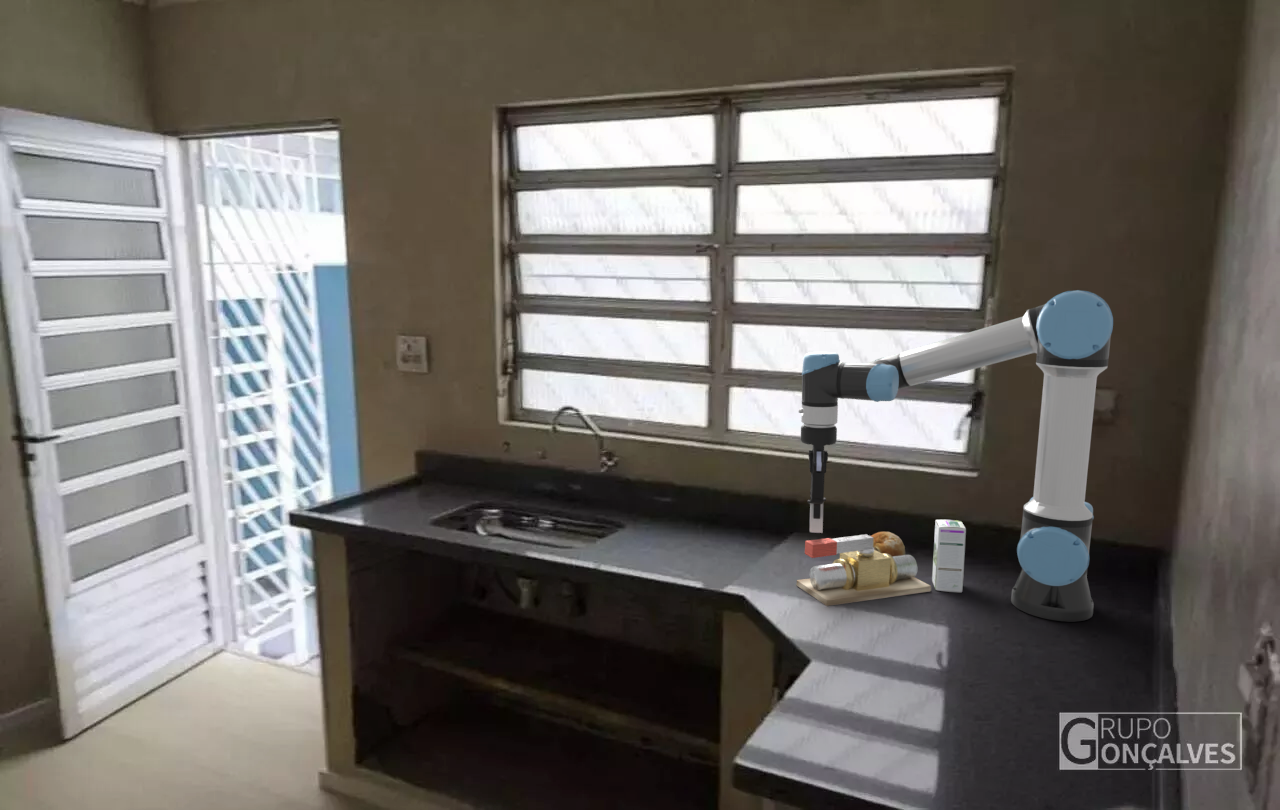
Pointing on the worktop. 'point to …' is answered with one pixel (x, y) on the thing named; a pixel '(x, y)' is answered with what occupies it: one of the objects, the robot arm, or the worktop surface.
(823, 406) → the robot arm
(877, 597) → the mounting board
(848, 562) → the valve
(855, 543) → the lever
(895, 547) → the bread roll
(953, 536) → the syrup box
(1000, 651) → the worktop surface
